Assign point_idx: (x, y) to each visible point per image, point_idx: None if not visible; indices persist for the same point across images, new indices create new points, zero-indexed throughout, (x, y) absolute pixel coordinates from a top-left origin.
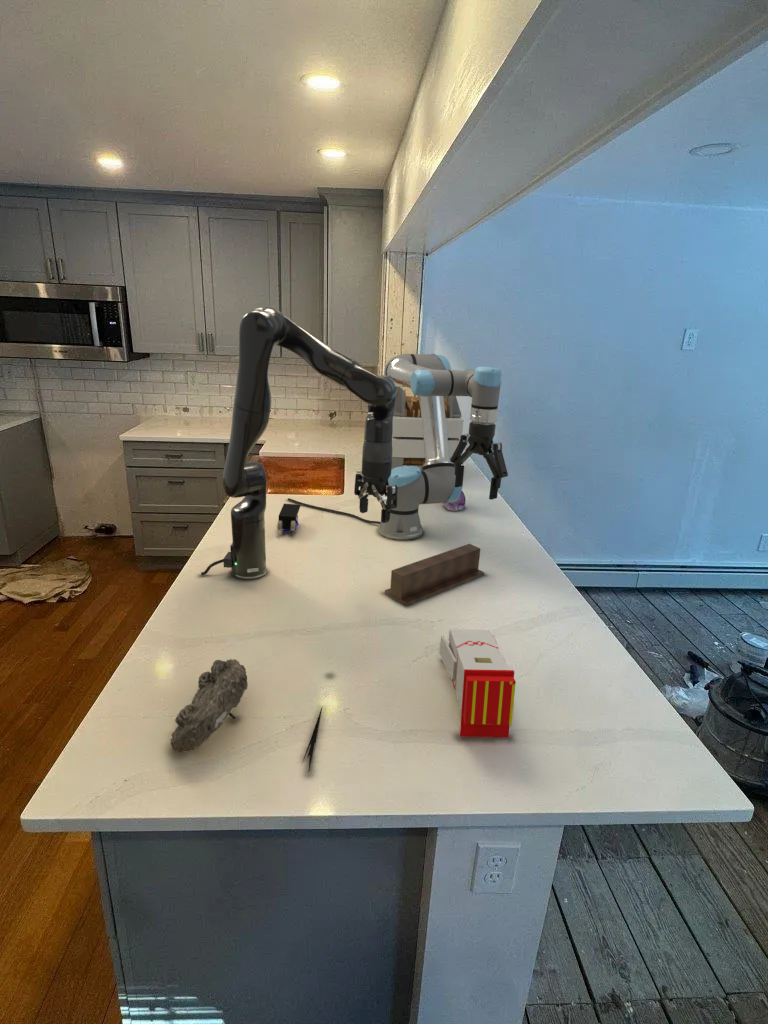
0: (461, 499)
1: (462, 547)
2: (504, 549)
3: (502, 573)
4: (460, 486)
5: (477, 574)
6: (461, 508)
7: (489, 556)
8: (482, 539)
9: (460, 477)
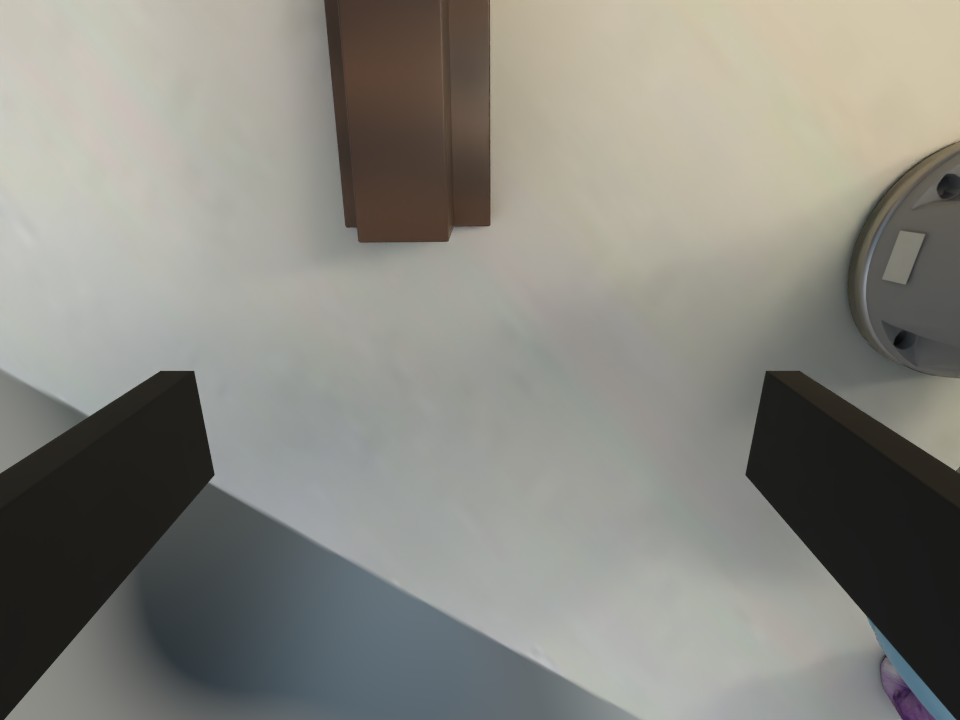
0: (923, 714)
1: (427, 152)
2: (485, 504)
3: (317, 311)
4: (752, 442)
5: (341, 176)
6: (885, 673)
7: (475, 401)
8: (615, 510)
9: (834, 502)
